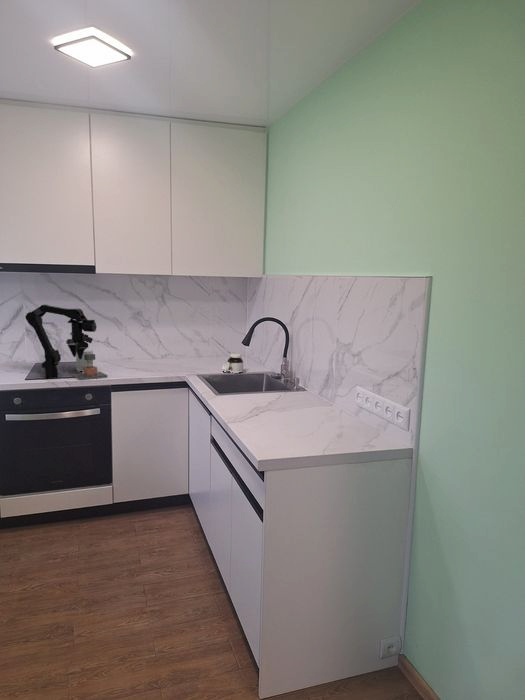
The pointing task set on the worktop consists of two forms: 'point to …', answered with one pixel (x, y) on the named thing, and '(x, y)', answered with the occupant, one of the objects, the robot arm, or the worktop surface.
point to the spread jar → (233, 363)
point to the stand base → (89, 374)
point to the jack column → (89, 359)
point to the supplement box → (82, 360)
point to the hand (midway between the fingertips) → (77, 358)
